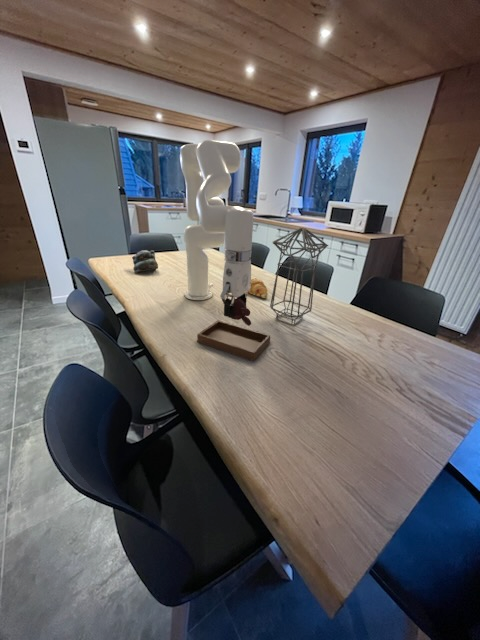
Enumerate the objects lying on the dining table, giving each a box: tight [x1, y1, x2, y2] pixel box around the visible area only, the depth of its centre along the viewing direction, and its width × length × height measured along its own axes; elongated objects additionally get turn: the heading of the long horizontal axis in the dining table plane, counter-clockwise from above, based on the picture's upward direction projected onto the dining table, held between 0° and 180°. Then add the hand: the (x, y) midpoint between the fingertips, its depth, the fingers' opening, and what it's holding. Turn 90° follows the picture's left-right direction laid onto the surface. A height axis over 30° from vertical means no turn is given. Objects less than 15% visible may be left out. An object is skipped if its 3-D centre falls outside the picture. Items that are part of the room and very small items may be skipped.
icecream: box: [228, 297, 252, 327], centre depth 82 cm, size 7×7×15 cm
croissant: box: [247, 278, 268, 299], centre depth 131 cm, size 21×10×8 cm, turn 26°
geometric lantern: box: [269, 227, 329, 326], centre depth 98 cm, size 16×16×35 cm
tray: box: [196, 319, 271, 362], centre depth 87 cm, size 13×21×3 cm, turn 62°
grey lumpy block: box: [131, 248, 159, 274], centre depth 155 cm, size 15×12×14 cm
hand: (235, 311), depth 83 cm, fingers closed on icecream, 7 cm apart
